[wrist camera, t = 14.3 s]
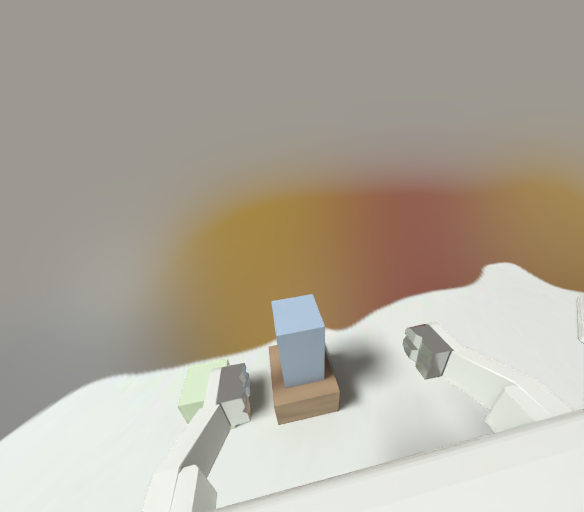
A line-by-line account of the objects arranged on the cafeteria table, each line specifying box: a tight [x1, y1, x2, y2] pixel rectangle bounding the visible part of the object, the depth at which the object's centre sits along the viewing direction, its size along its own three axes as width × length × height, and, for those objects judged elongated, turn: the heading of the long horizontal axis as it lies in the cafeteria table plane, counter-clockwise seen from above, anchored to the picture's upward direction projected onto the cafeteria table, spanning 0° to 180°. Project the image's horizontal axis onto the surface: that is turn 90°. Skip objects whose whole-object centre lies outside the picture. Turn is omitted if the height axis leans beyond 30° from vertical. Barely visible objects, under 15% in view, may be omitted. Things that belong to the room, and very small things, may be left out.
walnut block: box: [269, 345, 340, 425], centre depth 30 cm, size 8×8×5 cm
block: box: [178, 359, 236, 429], centre depth 28 cm, size 5×5×7 cm
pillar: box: [272, 294, 325, 388], centre depth 26 cm, size 5×5×10 cm
